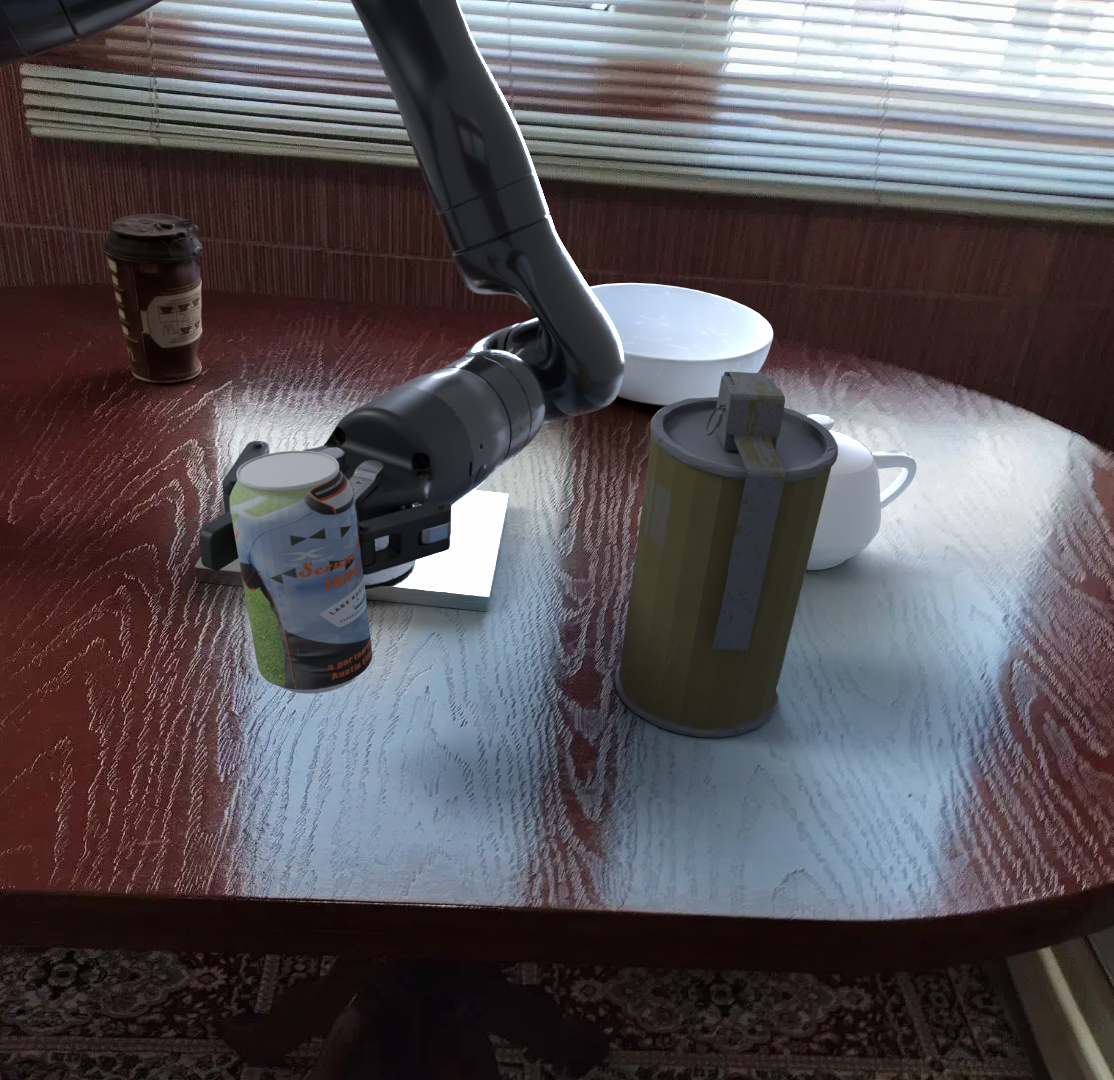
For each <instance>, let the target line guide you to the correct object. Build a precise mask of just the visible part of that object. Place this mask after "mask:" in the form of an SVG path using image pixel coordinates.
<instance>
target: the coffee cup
mask: <svg viewBox="0 0 1114 1080" xmlns="http://www.w3.org/2000/svg"><path fill="white" fill-rule="evenodd" d="M198 232H200V229H199V227H198V225H197V224H195V223H193V221H192V220H190V219H185V218H182V217H180V216H176V215H173V214H172V215H171V214H166V213H137V214H131V215H127V216H122V217H119V218H117V219H116V220H114V221H113V222H111V223H110V225H109V234H108V235H107V236H106V237H105V238H104V240H103V242H102V244H101V245H102V246H101V251H102V253H103V254H104V255H105V257H106V259H107V263H108V266H109V270H110V272H111V279H112V286H113V290H114V296H115V301H116V304H117V307H118V317H119V321H120V324H121V328H122V335H123V337H124V339H125V341H126V350H127V355H128V359H129V370H130V371H131V373H132V375H133V376H134V377H135V378H136V379H138V380H141V381H143V382H148V383H158V384H159V383H160V384H161V383H163V384H165V383H166V384H167V383H169V384H171V383H177V382H182V381H187V380H190V379H193V378H195V377H196V376H198V375H199V374H200V373H201V372H202V367H203V365H202V363H201V361H200V359H199V357H198V350H199V345H200V341H201V339H202V336H203V326H202V323H203V322H202V306H203V304H202V284H203V281H202V277H201V275H200V274H201V273H200V272H201V263H200V258H201V257H202V254H203V251H204V249H203V245H202V243H201V242H200V241H199V239H198V238H197V237H198Z"/></svg>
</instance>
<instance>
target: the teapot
mask: <svg viewBox="0 0 1114 1080" xmlns="http://www.w3.org/2000/svg"><path fill="white" fill-rule="evenodd" d="M806 416H807V417H809V418H811V419H813V420H815V421H816V422H818V423H819V424H821V425H822V426H823V427H825V428H826V429H828V430H829V431H830V432H831V434H832V435H833V436H834V438H835V440H836V443H837V446H838V456H837V459H836V462H835V463H834V465H833V466H832V467H831V471H830V475H829V479H828V483H827V487H826V491H825V495H824V499H823V503H822V507H821V511H820V515H819V519H818V523H817V527H816V531H815V535H814V540H813V544H812V548H811V552H810V556H809V560H808V564H807V568H806V571H818V570H819V571H821V570H826V569H831V568H835V567H838V566H840V565H842V564H844V562H846V561H848V560H849V559H851V558H853V557H855V556H857V555H858V554H859V553H861V552H863V551H864V550H865V549H866V548H867V547H868V546H869V545H870V544H871V542H872V541H873V540H874V539H875V537H876V536H877V534H878V532H879V530H880V527H881V521H882V510H883V509H884V508H886V507H887V506H889V505H890V504H891V503H892V502H893V501H895V500H896V499H897V498H898V497H900V496H901V495H902V494H903V493H904V492H905V491H906V490H907V489H908V487H909V486H910V485H911V484H912V482H913V481H914V479H915V475H916V472H917V463H916V460H915V459H914V458H913V457H912V456H911V455H910V454H909V452H903V451H899V450H884V451H883V450H882V451H874V452H873V451H871V450H870V449H869V448H868V447H867V446H866V445H864V444H863V443H862V442H860V441H859V440H857V439H855V438H853V437H852V436H849V435H847V434H844V433H842V432H839V431H835V430H832V429H833V427H834V426H835V421H834V419H833V418H831V417H830V416H828V415H824V414H820V413H819V414H818V413H813V414H808V415H806ZM889 468H890V469H892V468H902V469H901V472H900V474H899V476H898V477H897V478H896V480H894V482H893V483H892V484H891V485H890V486H888V487H887V488H886V489H885V490H883V491H882V492H881V484H880V476H879V475H880V474H879V470H882V469H889Z"/></svg>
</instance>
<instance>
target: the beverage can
mask: <svg viewBox="0 0 1114 1080" xmlns="http://www.w3.org/2000/svg"><path fill="white" fill-rule="evenodd" d="M237 479H238V480H237V482H236V484H235V486H234V488H233V490H232V492H231V495H230V500H229V505H230V511H231V517H232V523H233V528H234V534H235V540H236V545H237V551H238V557H239V562H240V568H241V574H242V580H243V585H244V586H243V590H244V596H245V602H246V608H247V613H248V619H249V624H250V630H251V636H252V637H251V638H252V642H253V647H254V648H253V649H254V653H255V659H256V665H257V670H258V671H259V674H260V675H261V676H262V677H263V679H264V680H266V681H267V682H269V683H271V684H272V685H275V686H277V687H281V688H282V689H284V690H286V691H289V692H293V693H298V694H308V695H311V694H322V693H328V692H331V691H335V690H338V689H341V688H343V687H345V686H346V685H348V684H350V683H352V682H353V681H354V680H355V679H356V678H357V677H358V676H361V674H362V673H364V672H365V671H366V669H368V667H369V666H370V664H371V663H372V660H373V647H372V639H371V631H370V630H371V629H370V622H369V611H368V603H367V599H366V594H365V585H364V576H363V567H362V559H361V550H360V541H359V532H358V523H357V515H356V506H355V497H354V491H353V487H352V485H351V483H350V482H349V480H348V479H347V478H346V477H345V476H344V474H343V473H342V472H341V471H340V470H339V463H338V461H337V460H336V459H335V458H333V457H332V456H329V455H327V454H324V453H319V452H313V451H303V450H286V451H285V450H284V451H277V452H271V453H270V454H266V455H262V456H259V457H256V458H253V459H251V460H249V461H247V462H245V463H244V464H242V465H241V466H240V467H239V468H238V470H237Z"/></svg>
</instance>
